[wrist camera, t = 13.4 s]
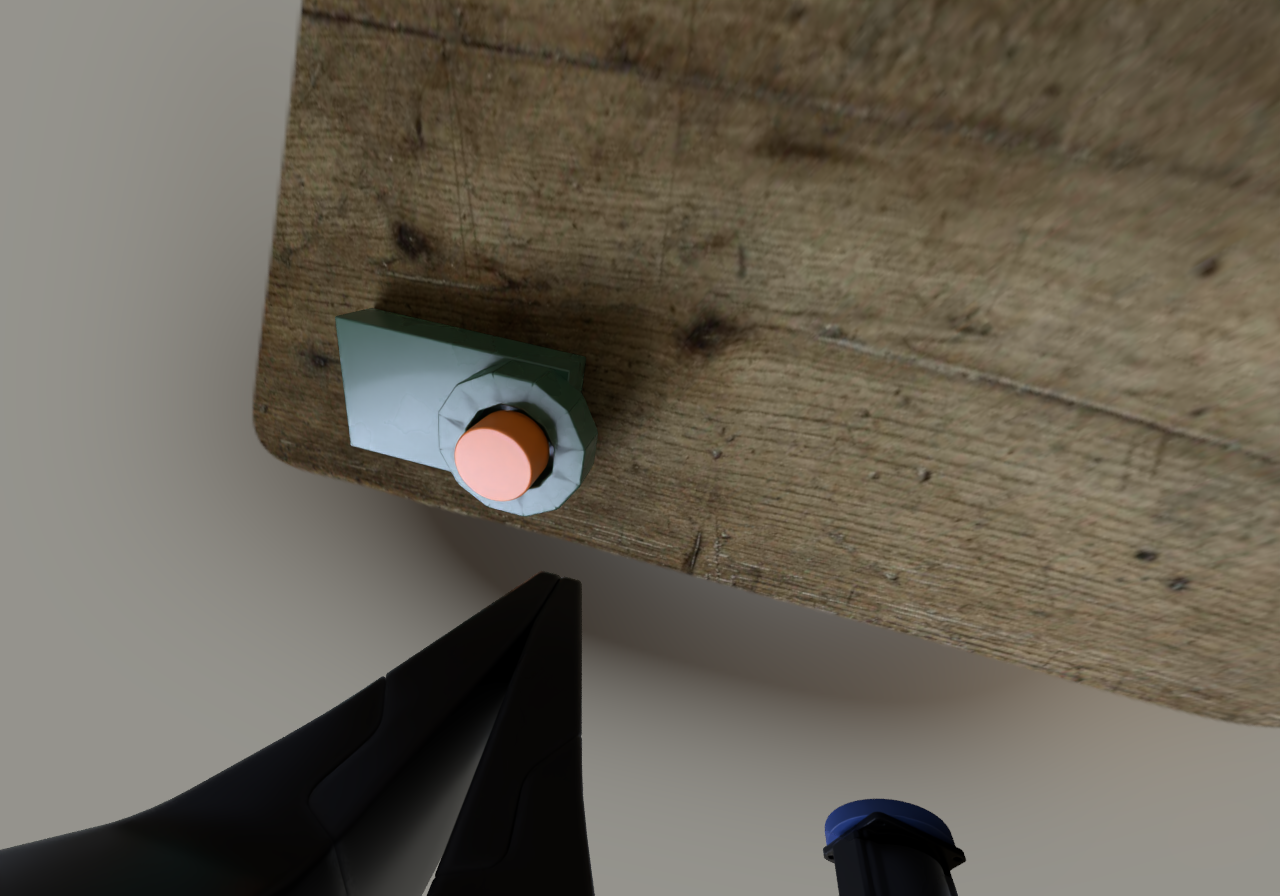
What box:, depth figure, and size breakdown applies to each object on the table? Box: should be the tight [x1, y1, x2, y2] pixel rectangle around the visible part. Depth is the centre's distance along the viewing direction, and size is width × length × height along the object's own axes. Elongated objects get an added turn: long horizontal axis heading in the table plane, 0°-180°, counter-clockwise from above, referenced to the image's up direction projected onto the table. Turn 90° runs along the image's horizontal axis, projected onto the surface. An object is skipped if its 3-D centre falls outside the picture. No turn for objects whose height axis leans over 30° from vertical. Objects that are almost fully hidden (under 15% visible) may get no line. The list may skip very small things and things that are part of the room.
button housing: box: [335, 308, 598, 516], centre depth 20 cm, size 11×6×4 cm, turn 80°
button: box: [454, 410, 549, 501], centre depth 18 cm, size 3×3×2 cm
